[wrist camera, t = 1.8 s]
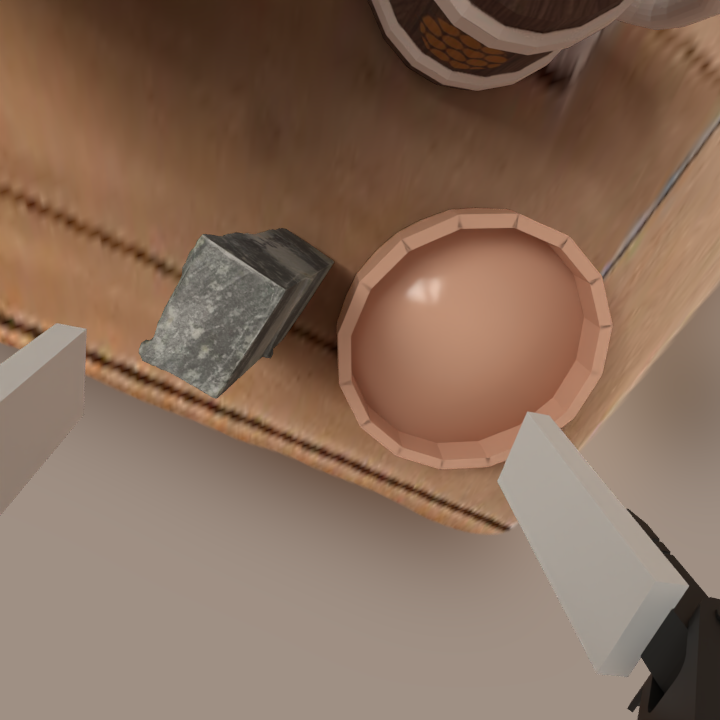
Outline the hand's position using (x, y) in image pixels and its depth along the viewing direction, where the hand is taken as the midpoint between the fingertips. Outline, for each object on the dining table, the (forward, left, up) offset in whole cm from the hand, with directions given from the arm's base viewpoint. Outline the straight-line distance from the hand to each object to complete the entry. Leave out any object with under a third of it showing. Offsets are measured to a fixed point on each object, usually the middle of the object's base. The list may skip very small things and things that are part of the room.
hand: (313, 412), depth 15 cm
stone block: (-3, -4, -27) cm, 27 cm away
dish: (+15, -3, -27) cm, 31 cm away
